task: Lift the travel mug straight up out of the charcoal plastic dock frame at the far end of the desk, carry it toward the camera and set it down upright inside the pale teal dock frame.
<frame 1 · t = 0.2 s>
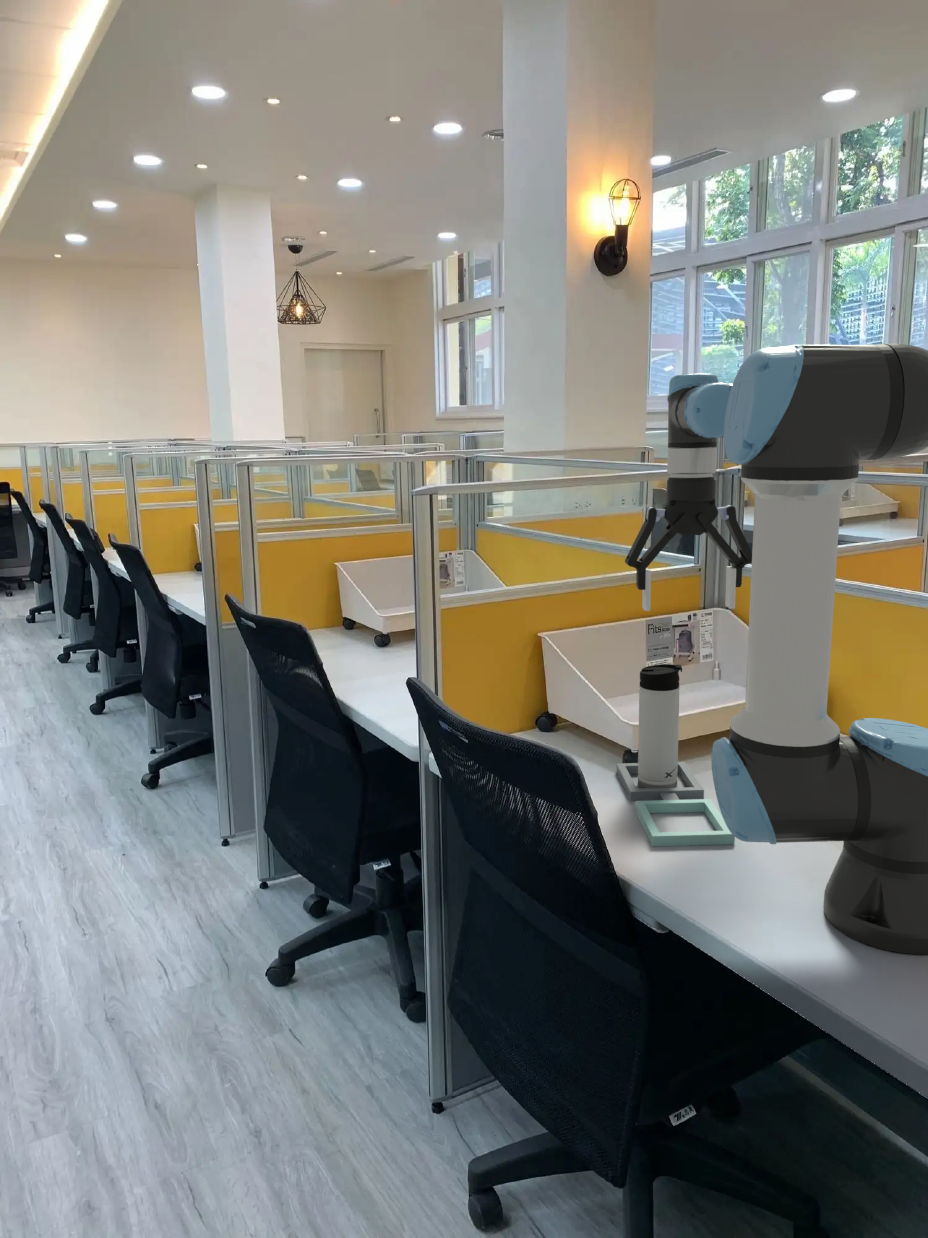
hand: (688, 608, 149), 28 cm above the table, fingers open, 13 cm apart
travel mug: (658, 786, 150), resting in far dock
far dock: (658, 785, 150), on the table
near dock: (682, 826, 134), on the table
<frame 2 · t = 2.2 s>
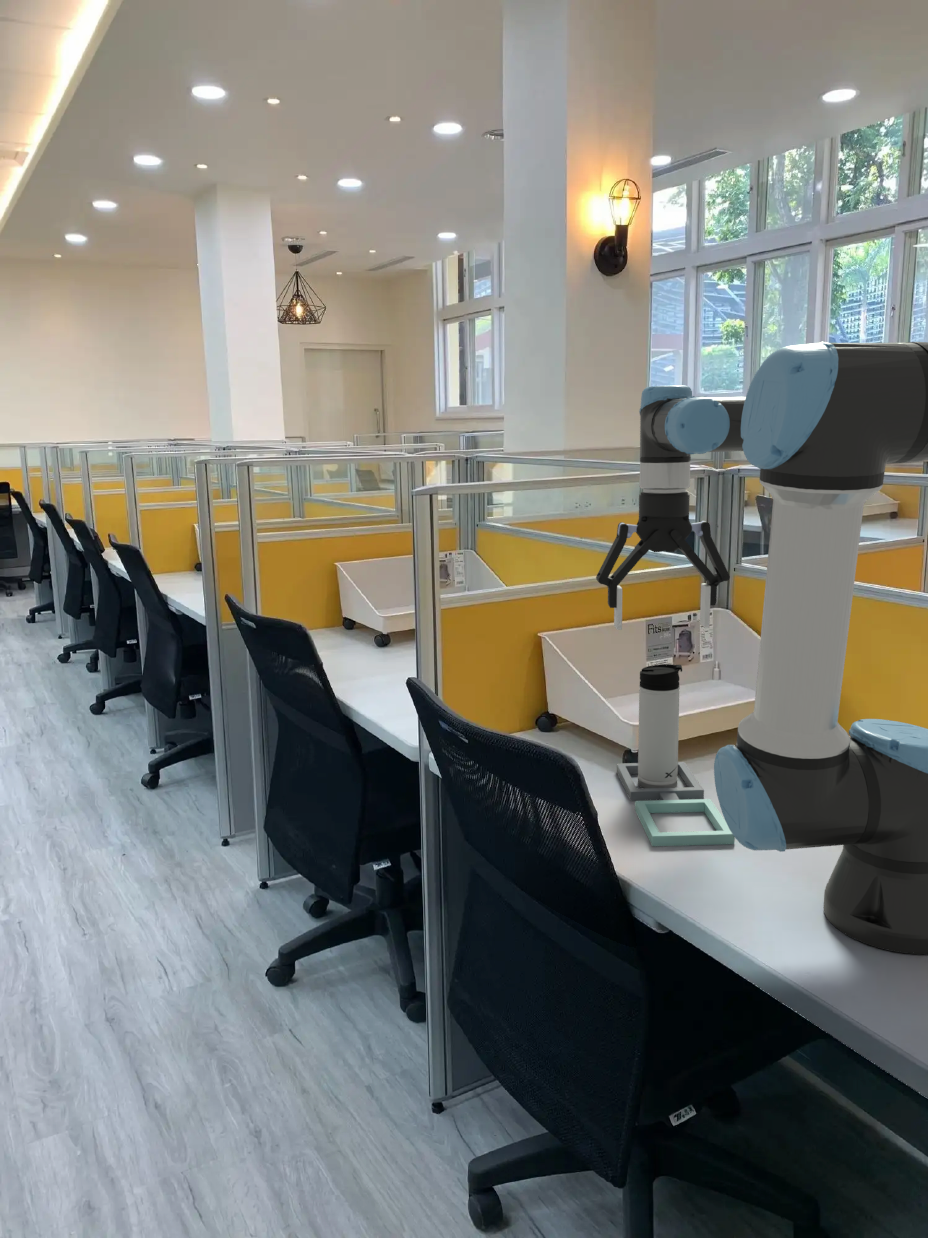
hand: (661, 627, 145), 26 cm above the table, fingers open, 13 cm apart
nothing on the table moved.
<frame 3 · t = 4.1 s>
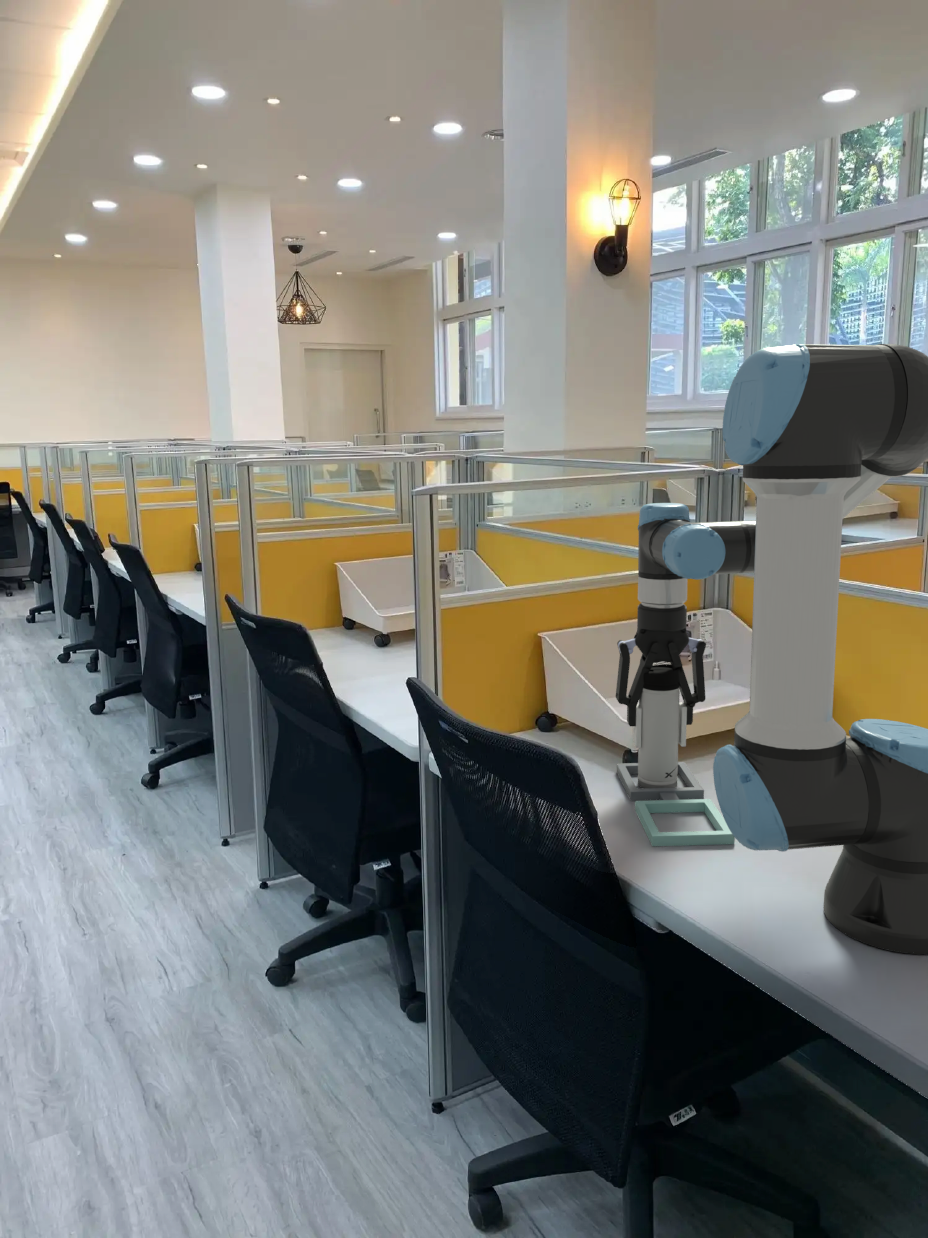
hand: (659, 744, 149), 7 cm above the table, fingers closed on travel mug, 6 cm apart
travel mug: (658, 786, 150), resting in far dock, touching gripper
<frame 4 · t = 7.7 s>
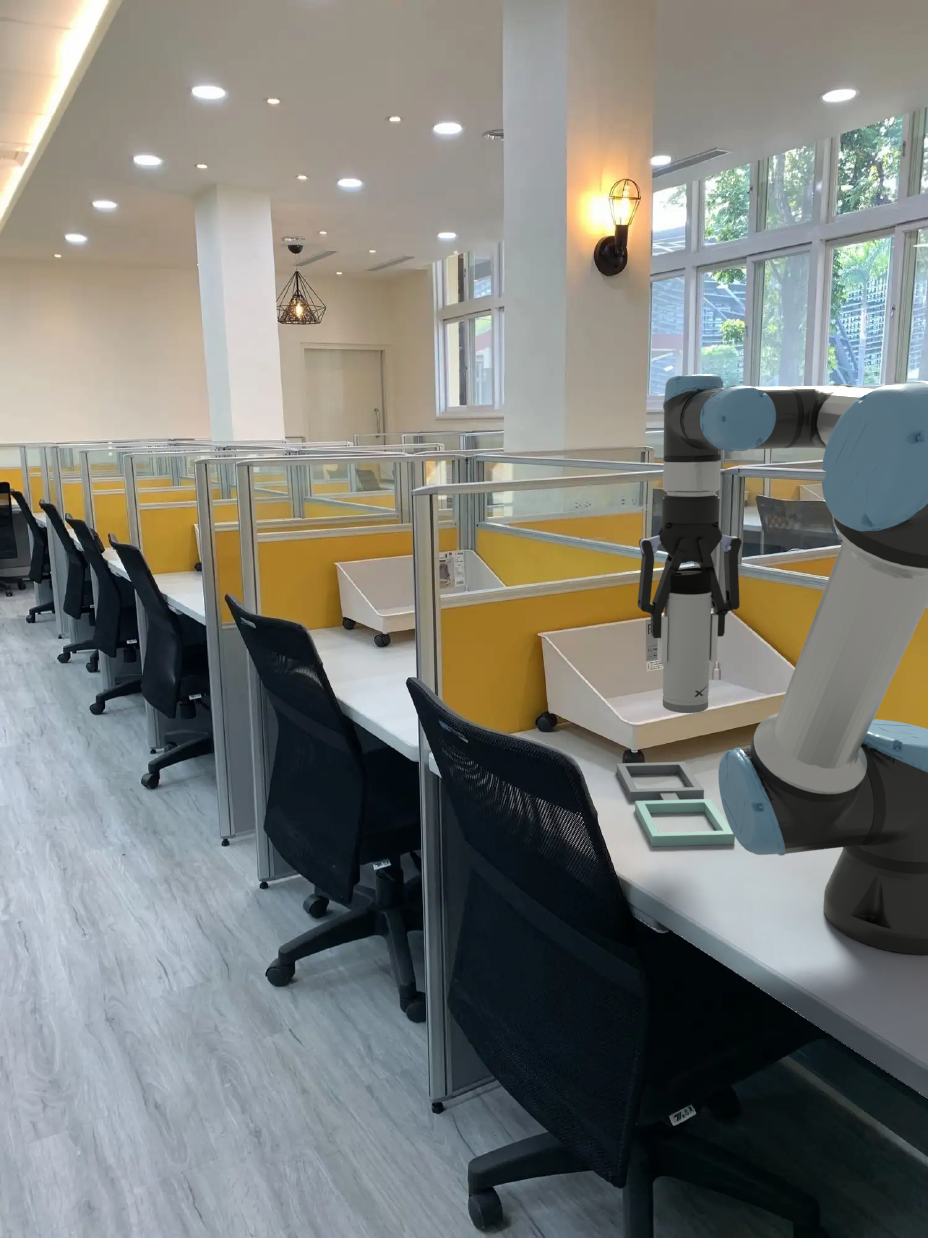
hand: (686, 659, 129), 25 cm above the table, fingers closed on travel mug, 6 cm apart
travel mug: (686, 708, 131), point 18 cm above the table, touching gripper
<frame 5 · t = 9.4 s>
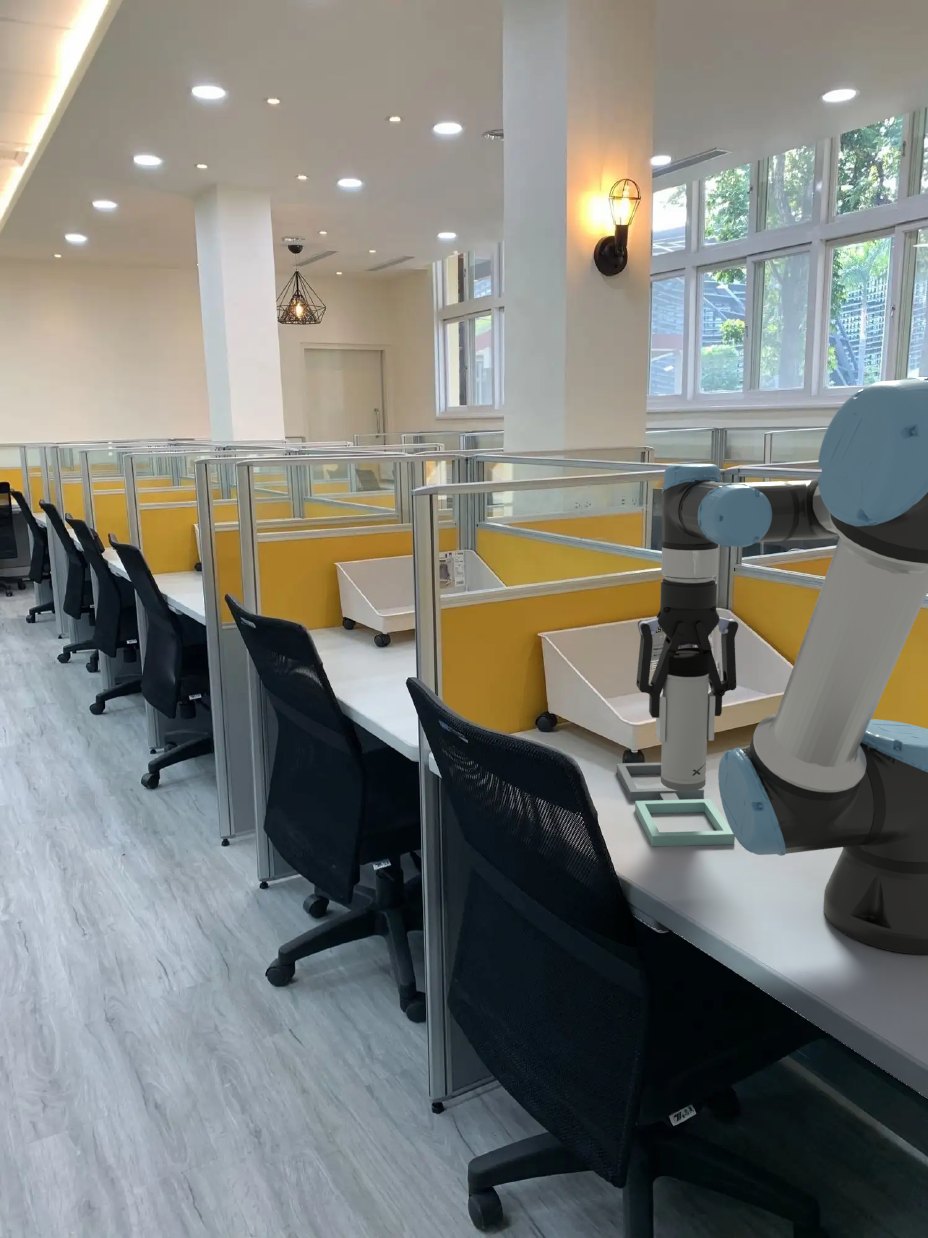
hand: (684, 737, 132), 13 cm above the table, fingers closed on travel mug, 6 cm apart
travel mug: (684, 785, 133), point 6 cm above the table, touching gripper
when the fingers open (8 cm above the table, at t = 10.9 s): travel mug drops 1 cm, resting in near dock.
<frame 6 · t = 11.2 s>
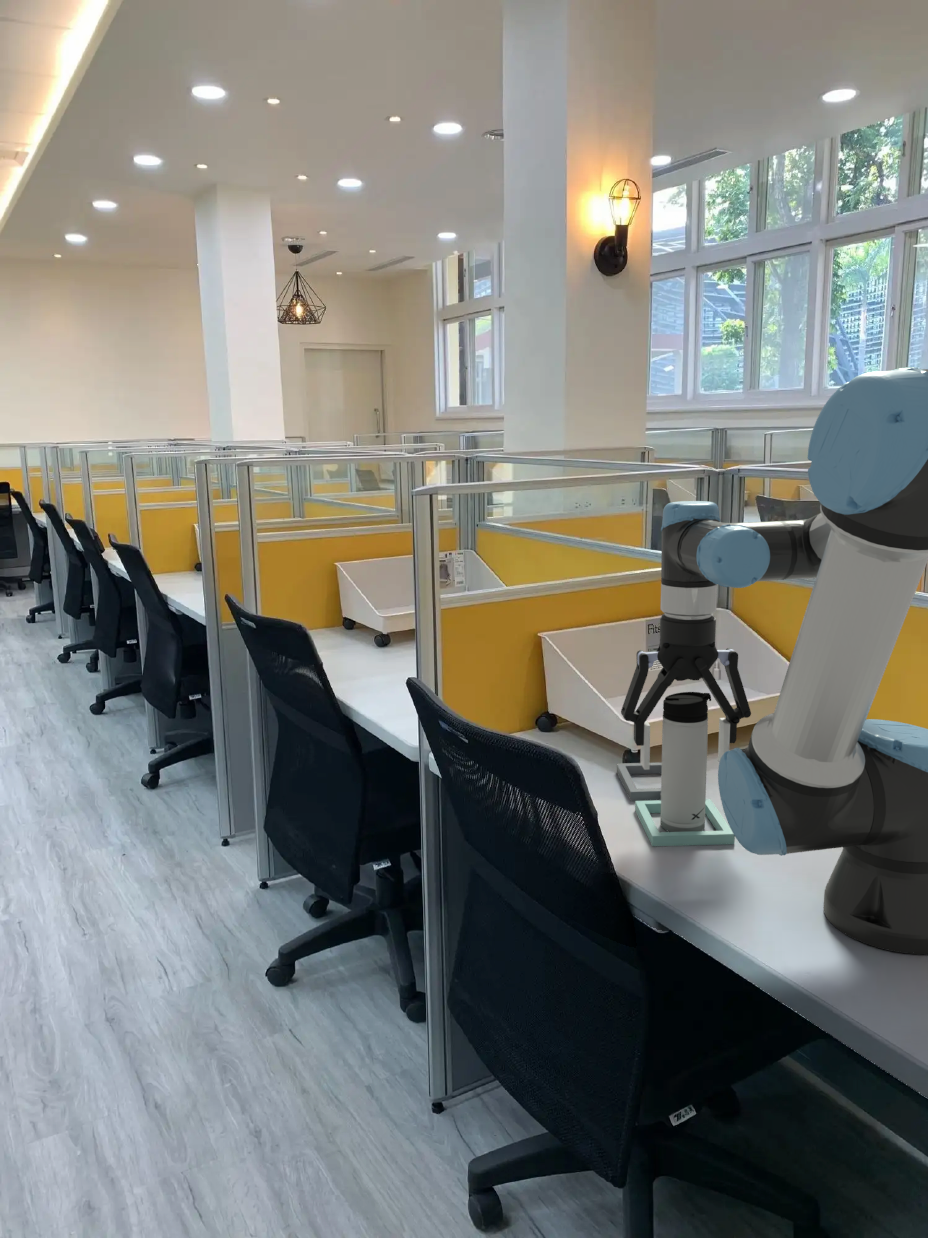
hand: (684, 765, 132), 9 cm above the table, fingers open, 10 cm apart
travel mug: (683, 828, 134), resting in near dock
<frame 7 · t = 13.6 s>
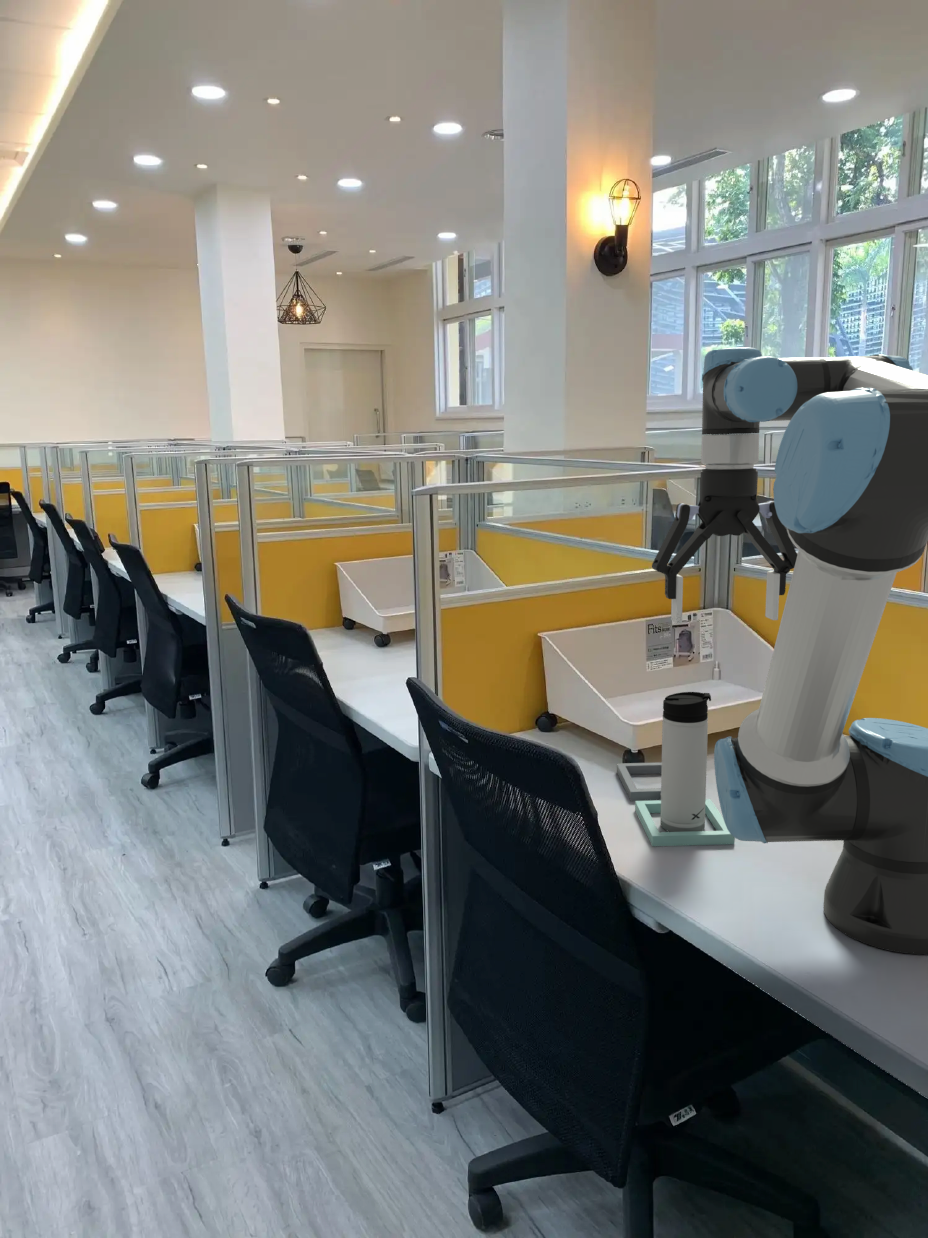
hand: (724, 620, 130), 30 cm above the table, fingers open, 13 cm apart
nothing on the table moved.
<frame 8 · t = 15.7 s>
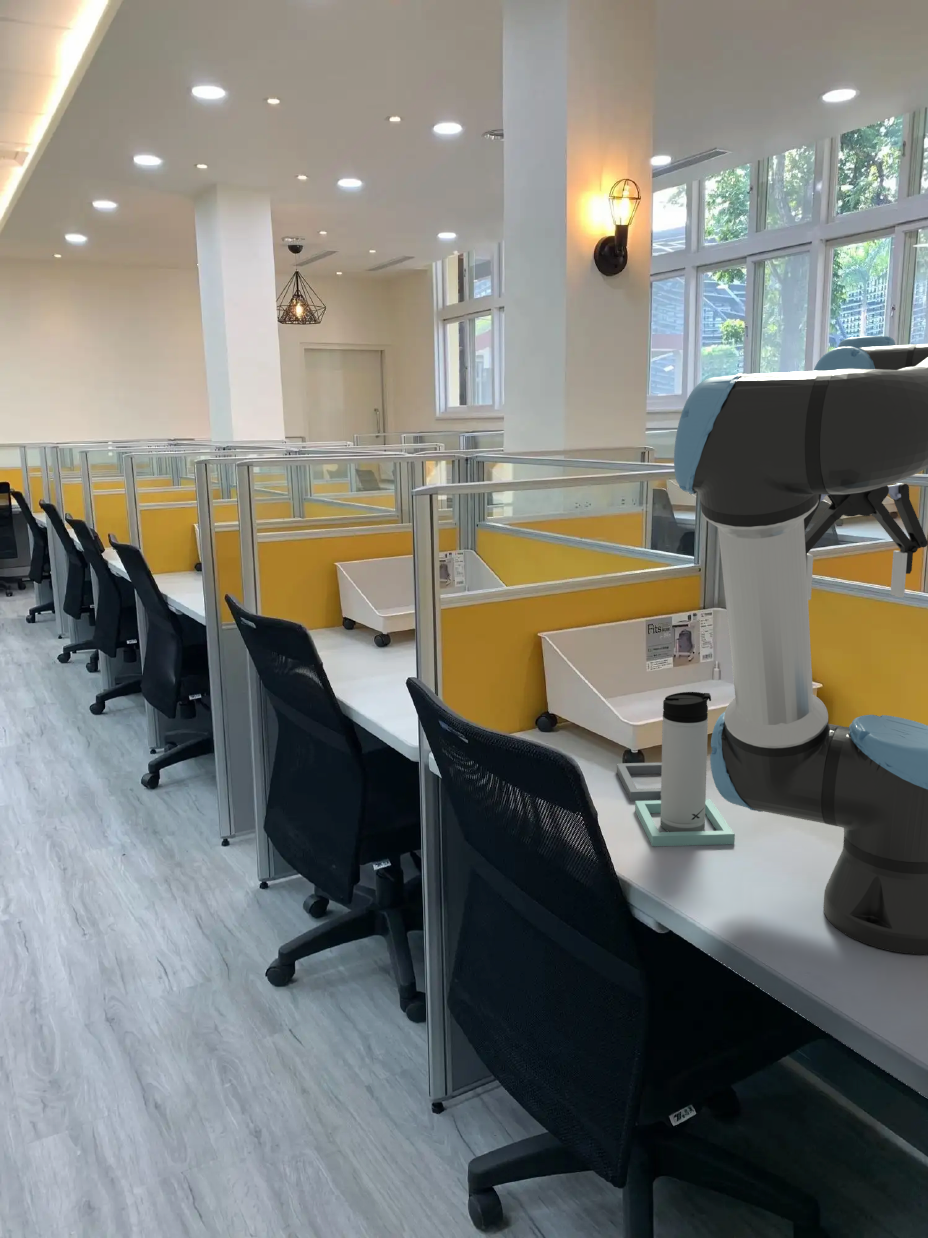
hand: (851, 597, 136), 32 cm above the table, fingers open, 13 cm apart
nothing on the table moved.
at the end: travel mug 0.2 cm from the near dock (horizontally); travel mug tilted 0°; the gripper is holding nothing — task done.
